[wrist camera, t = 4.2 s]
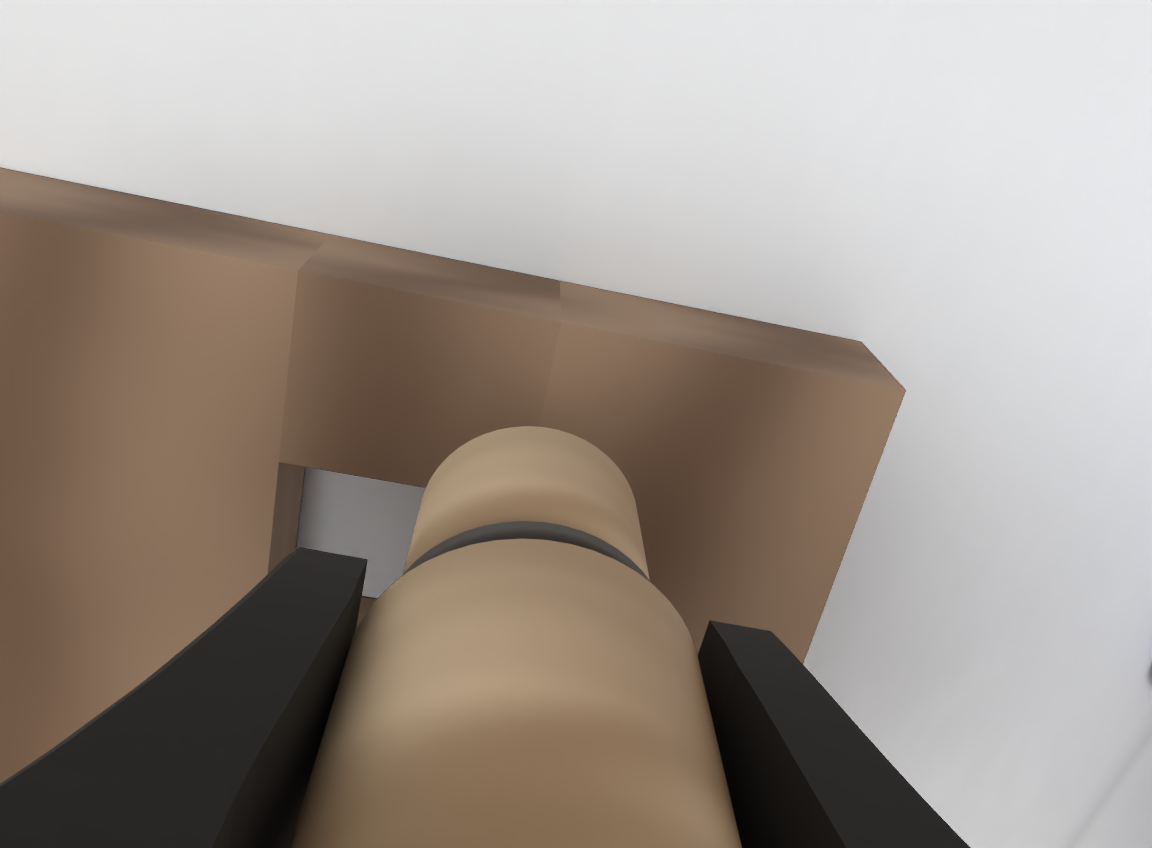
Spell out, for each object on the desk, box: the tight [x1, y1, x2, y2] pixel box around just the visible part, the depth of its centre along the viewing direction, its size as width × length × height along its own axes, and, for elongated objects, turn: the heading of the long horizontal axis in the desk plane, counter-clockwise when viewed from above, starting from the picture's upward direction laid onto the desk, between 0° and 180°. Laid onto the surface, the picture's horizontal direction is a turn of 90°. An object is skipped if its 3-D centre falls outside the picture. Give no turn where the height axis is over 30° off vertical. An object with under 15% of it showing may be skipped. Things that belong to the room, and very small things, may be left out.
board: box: [0, 168, 906, 783], centre depth 19 cm, size 18×15×2 cm
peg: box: [289, 426, 742, 848], centre depth 8 cm, size 3×3×7 cm
